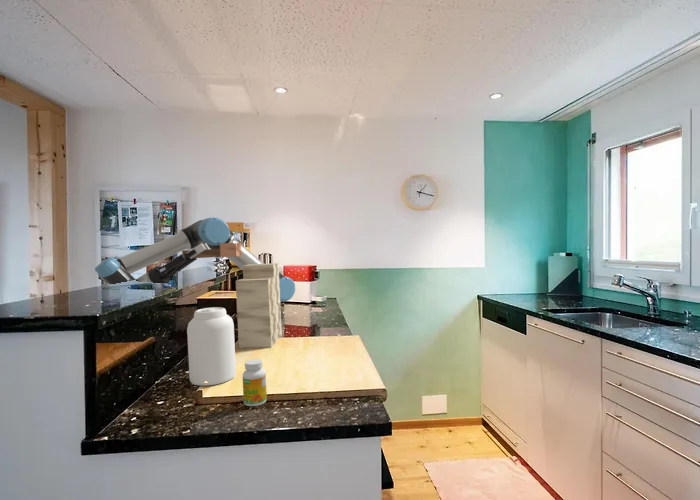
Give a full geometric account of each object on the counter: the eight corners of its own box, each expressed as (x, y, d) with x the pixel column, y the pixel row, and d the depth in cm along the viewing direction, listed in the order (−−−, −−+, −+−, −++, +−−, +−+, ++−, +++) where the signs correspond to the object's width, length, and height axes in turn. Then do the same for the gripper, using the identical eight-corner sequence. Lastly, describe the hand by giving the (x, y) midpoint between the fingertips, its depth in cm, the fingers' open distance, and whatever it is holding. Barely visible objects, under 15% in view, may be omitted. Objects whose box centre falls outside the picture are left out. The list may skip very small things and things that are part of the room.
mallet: (188, 258, 146) (187, 245, 146) (241, 255, 145) (241, 242, 145) (180, 258, 140) (180, 245, 140) (236, 256, 139) (235, 242, 139)
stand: (253, 336, 157) (249, 264, 156) (281, 335, 156) (278, 263, 156) (238, 348, 139) (235, 267, 138) (271, 347, 138) (267, 265, 138)
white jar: (179, 383, 105) (176, 311, 105) (214, 369, 116) (211, 304, 116) (211, 389, 99) (208, 314, 99) (245, 374, 110) (242, 306, 110)
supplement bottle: (239, 406, 88) (237, 365, 88) (249, 397, 93) (247, 358, 93) (262, 407, 87) (260, 365, 87) (270, 397, 92) (268, 358, 92)
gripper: (170, 285, 152) (219, 254, 151) (147, 290, 136) (201, 255, 135) (160, 269, 152) (209, 238, 151) (136, 272, 136) (190, 237, 135)
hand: (205, 246), depth 143 cm, fingers closed on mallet, 3 cm apart
